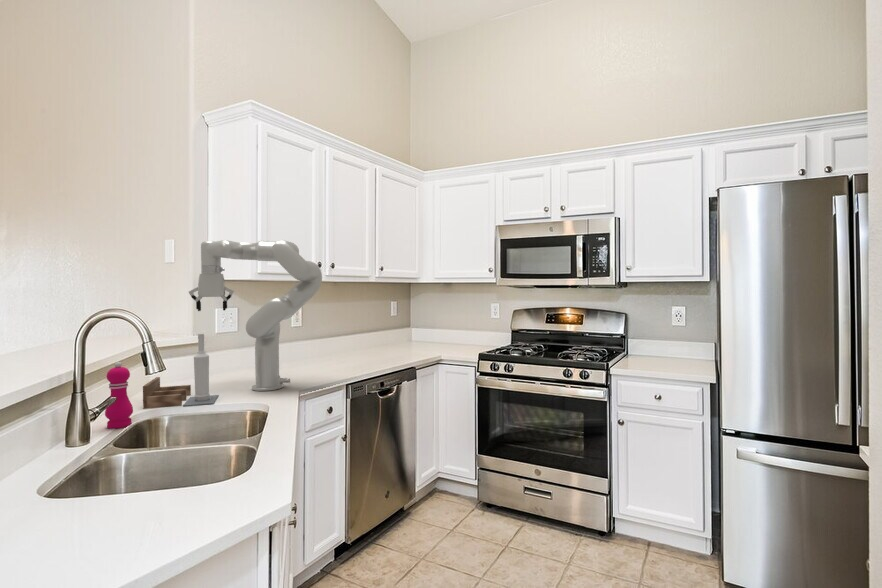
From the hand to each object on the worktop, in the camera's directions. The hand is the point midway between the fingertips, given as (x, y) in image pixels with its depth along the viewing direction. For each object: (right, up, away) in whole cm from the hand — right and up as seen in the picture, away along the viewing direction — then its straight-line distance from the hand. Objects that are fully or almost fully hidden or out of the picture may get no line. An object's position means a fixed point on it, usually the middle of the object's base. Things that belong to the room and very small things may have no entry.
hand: (212, 310), depth 199 cm
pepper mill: (-3, -34, -53) cm, 63 cm away
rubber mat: (+7, -34, -22) cm, 41 cm away
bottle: (+7, -33, -22) cm, 40 cm away
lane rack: (-6, -34, -22) cm, 40 cm away
